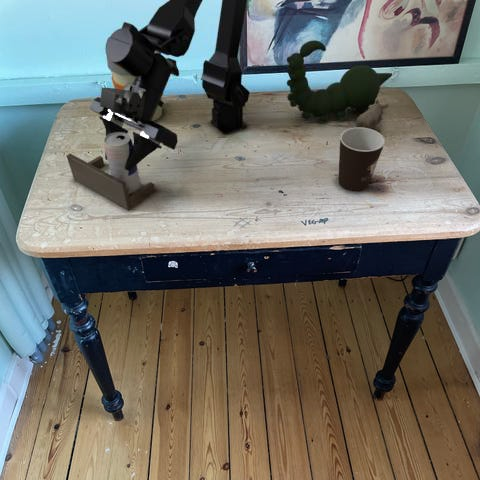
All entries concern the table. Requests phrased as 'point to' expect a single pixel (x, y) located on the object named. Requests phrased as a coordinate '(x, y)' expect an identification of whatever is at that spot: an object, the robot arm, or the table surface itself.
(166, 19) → the robot arm
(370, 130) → the coffee mug
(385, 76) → the toy figurine
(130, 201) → the brown legged board
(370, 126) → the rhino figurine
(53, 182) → the table surface
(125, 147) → the energy drink
